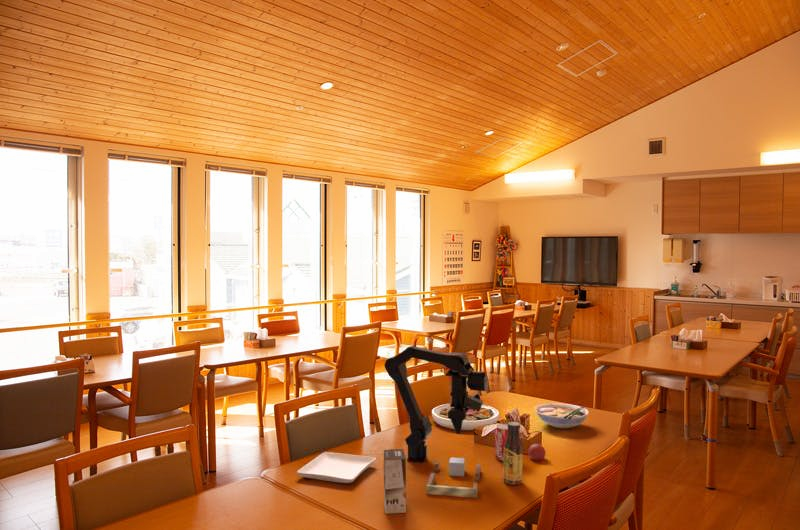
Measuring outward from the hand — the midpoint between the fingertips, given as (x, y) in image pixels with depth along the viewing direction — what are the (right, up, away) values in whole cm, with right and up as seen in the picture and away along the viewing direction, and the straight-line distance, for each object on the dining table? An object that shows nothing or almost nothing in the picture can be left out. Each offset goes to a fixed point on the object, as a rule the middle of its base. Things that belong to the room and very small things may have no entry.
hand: (459, 431), depth 206 cm
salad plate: (-43, -13, -6) cm, 45 cm away
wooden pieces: (-3, -12, -15) cm, 19 cm away
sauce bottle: (+16, -12, -16) cm, 26 cm away
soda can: (+18, -12, +6) cm, 22 cm away
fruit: (+29, -12, +5) cm, 31 cm away
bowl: (+8, -11, +53) cm, 55 cm away
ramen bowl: (+49, -11, +45) cm, 68 cm away
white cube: (-1, -12, -7) cm, 14 cm away
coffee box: (-23, -13, -34) cm, 43 cm away
